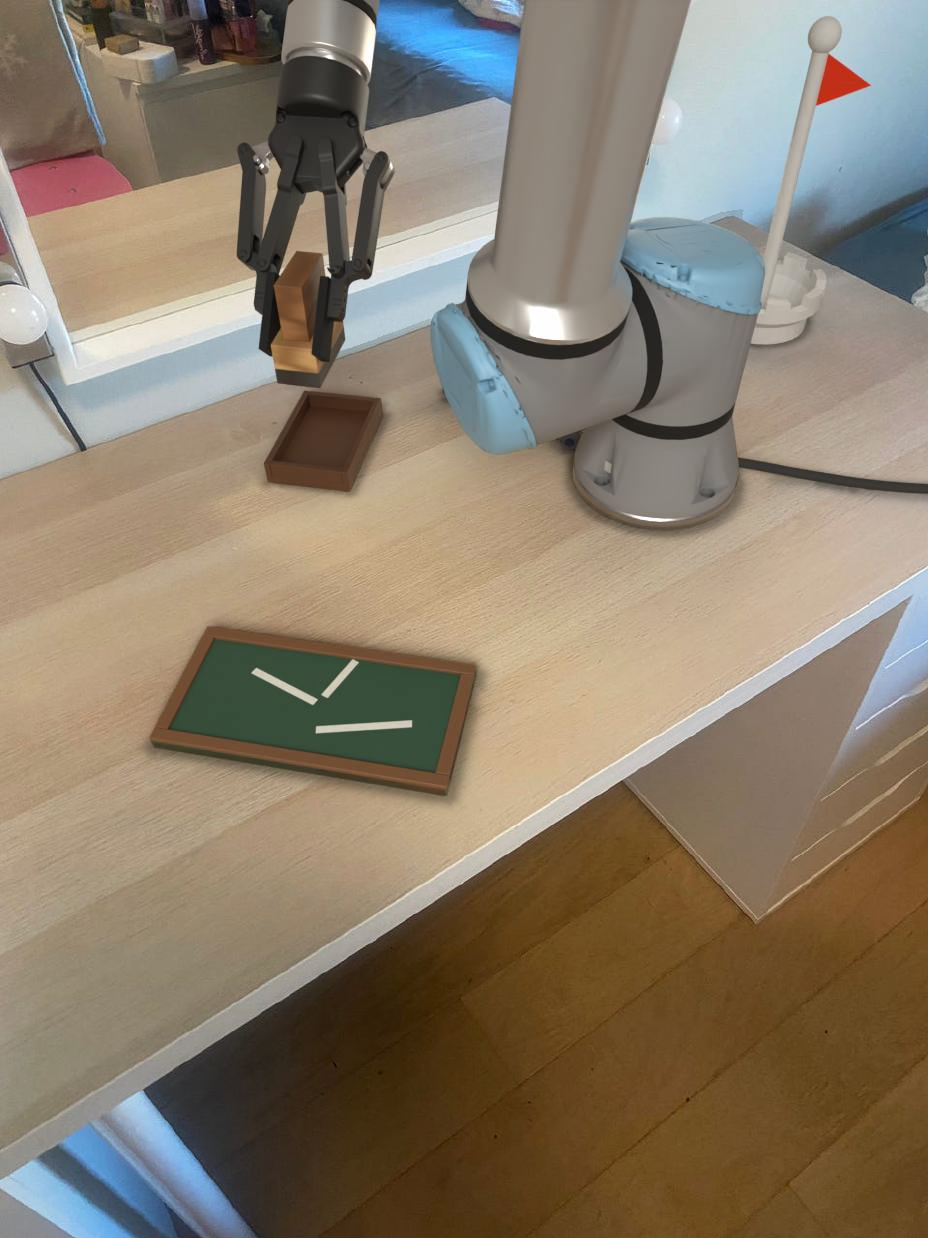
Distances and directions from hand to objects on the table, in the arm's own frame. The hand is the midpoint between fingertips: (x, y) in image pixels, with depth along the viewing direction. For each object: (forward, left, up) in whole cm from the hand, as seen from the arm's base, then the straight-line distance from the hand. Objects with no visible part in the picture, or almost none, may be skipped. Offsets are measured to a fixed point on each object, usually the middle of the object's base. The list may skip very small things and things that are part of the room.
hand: (294, 354), depth 77 cm
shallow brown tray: (0, -4, -13) cm, 13 cm away
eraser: (0, -4, -3) cm, 5 cm away
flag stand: (-42, -36, -13) cm, 57 cm away
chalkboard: (-9, +27, -13) cm, 31 cm away
